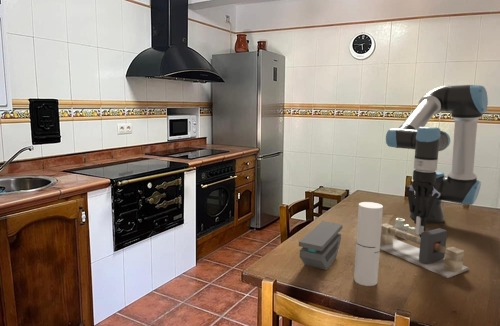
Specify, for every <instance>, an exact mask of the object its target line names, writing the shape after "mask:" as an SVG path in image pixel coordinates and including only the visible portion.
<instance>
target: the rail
mask: <svg viewBox="0 0 500 326" xmlns="http://www.w3.org/2000/svg"><path fill="white" fill-rule="evenodd" d="M394 236H396V237H399V238H401V239H404V240H407V241H409V242H412V243H415V244H417V245H420V241H421V238H420V236H419V235H418V236H417V235H416V234H415V235H414V234H411V233H409V232H406V231H405V230H403V231H401V230H398V229H395V225H391V224H389V223H387V222H385V223H382V226H381V239H380V251H384V252H386V253H389V254H391V255H393V256H395V257H397V258H399V259H403V260H405V261H408V262H410V263H411V264H414V265H416V266H419V267H421V268H423V269H426V270H428V271H430V272H433V273H435V274H438V275H439V276H442V277H444V278H447V279H449V278H452V277H453V276H454V277H455V276H456V275H459V274H462V273H465V272H467V271H469V269H470V267H468V266H466V265H464V264H463V263H464V256H465V250H464V249H460V248H458V247H455V246H447V245H446V246H443V245H441V244H438V243H434V250H435V251H438V252H441V253H444V254H445V256H444V258H443V259H440V260H437V261H434V262H431V263H428V264H425V263H422V262H420V261H419V252H420V247H417V246H414V245H412V244H409V243H407V242H404V241H402V240H399V239H396V238H394Z"/></svg>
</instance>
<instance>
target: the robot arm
mask: <svg viewBox="0 0 500 326" xmlns="http://www.w3.org/2000/svg"><path fill="white" fill-rule="evenodd" d="M488 100H489V99H488V92H487V90H486V88H485V86H483V85H480V84H464V85H463V84H460V85H459V84H458V85H457V84H456V85H442V86H439V87H436V88H433V89H432V90H430V91H428V92H427V93H425V94H424V95H423V96H422V97H421V98H420V100H418V104H417V107H416V108H415V109H414V110H413V111H412V112H411V113H410V114H409V116H408V117H407V118H406V119H405V120H404V121H403V122H402V124H401V125H400V126H399V127H398V128H389V129H388V130H387V132H386V134H385V144H386V145H387V146H388V147H389V148H396V149H408V150H414V157H413V158H414V159H413V160H414V161H413V169H414V170H413V172H412V182H411V184H410V185H407V186H405V189H406V192H407V198H408V199H407V200H408V205H409V213H410V214H409V218H411V219H412V220H414V221H413V223H414V224H415V232H414V234H415V235H418V236H419V234H420V235H421V233H423V231H424V226H425V225H426V226H427V223H428V224H438V223H439V224H440V223H443V222H444V220H445V215H444V211H443V207H442V202H443V201H444V202H450V203H455V204H459V205H460V204H461V205H469V206H471V205H473V204H475V203H476V201H477V199H478V196H479V193H480V190H481V185H482V182H481V180H477V179H478V178H477V177H478V176H477V174H476V173H474V168H475V156H476V155H475V154H476V144H477V143H476V142H477V129H478V121H479V119H481V118H482V117H483V114H484V113H486V112H487V110H488V106H489V105H488V103H489V101H488ZM442 112H445V113H451V114H450V115H451V118H452V119H453V120H454V131H453V145H452V161H451V171H450V172H448V173H447V176H445V173H444V172H442V171H437V170H438V159H439V152H442V151H444V150H445V149H447V148H448V147H449V146H450V144H451V137H450V135H449V133H447V131H443V130H441V128H440V127H437V126H426V125H427V124H428V122H429V121H431V118H433V116H435V115H437V114H438V113H442Z"/></svg>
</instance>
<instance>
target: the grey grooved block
mask: <svg viewBox="0 0 500 326" xmlns="http://www.w3.org/2000/svg"><path fill="white" fill-rule="evenodd" d="M342 229H343V223H335V222H332V221H331V222H330V221H325V220H322V221H320V222H319V223H318V224H317V225H316V226H315V227H314V228H312V229H311V230H310V231H309V232H308V233H307V234H306V235H305V236H304V237H302V239H300V240H299V241H298V247H300V248H301V247H302V248H301V249H300V250H299V258H300V260H301V261H302V263H303V264H304V266H307V267H312V268H315V269H320V270H324V271H327V270H328V269H329V268H330V267H331V266H332V264H333V263H334V262H335V260H336V259H337V255H338V253H339V249H340V244H341V240H342V233H339V232H341V230H342Z"/></svg>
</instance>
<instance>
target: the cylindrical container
mask: <svg viewBox="0 0 500 326" xmlns="http://www.w3.org/2000/svg"><path fill="white" fill-rule="evenodd" d="M383 209H384V206H383V205H382V204H381V203H378V202H372V201H362V202H359V203H358V210H357V211H358V212H357V225H356V242H355V243H356V244H355V258H354V270H353V271H354V272H353V280H354V282H355V283H357V284H359V285H361V286H366V287H373V286H376V285H377V284H378V279H379V278H378V276H379V264H380V263H379V261H380V251H381V249H380V239H381V226H382V224H383V223H382V222H383V212H384V210H383Z"/></svg>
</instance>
